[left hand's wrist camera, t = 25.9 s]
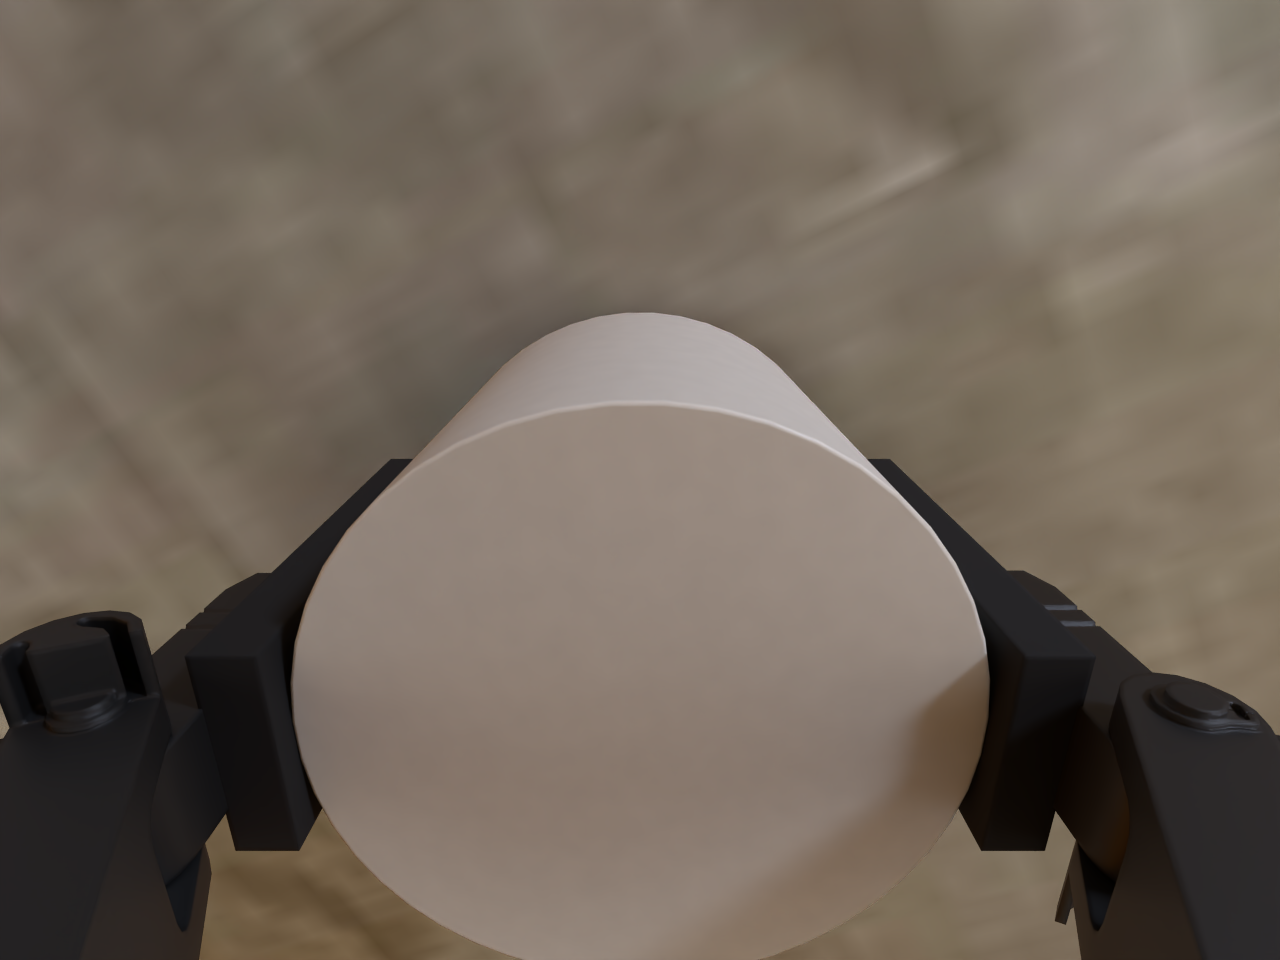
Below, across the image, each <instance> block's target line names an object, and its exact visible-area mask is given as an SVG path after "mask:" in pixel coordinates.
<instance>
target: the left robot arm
mask: <svg viewBox="0 0 1280 960" xmlns="http://www.w3.org/2000/svg"><path fill="white" fill-rule="evenodd" d="M412 460H413V459H390V460H389V461H388V462H387V463H386V464H385V465H384V466H383V467H382V468H381V469H380V470H379V471H378V472H377V473H376V474H375V475H374V476H373V477H372V478H371V479H369V480H368V481H367V482H366V483H365V484H364V485H363V486H362V487H361V488H360V489H359V490H358V491H357V492H356V493H355V494H354V495H353V496H352V497H351V498H350V499H349V500H347V501H346V502H345V503H344V504H343V505H342V506H341V507H340V508H339V509H338V510H337V511H336V512H335V513H334V514H333V515H332V516H331V517H330V518H329V519H328V520H327V521H325V522H324V523H323V524H322V525H321V526H320V527H319V528H318V529H317V530H316V531H315V532H314V533H313V534H312V535H311V536H310V537H309V538H308V539H307V540H306V541H305V542H304V543H302V544H301V545H300V546H299V547H298V548H297V549H296V550H295V551H294V552H293V553H292V554H291V555H290V556H289V557H288V558H287V559H286V560H285V561H284V562H283V563H282V564H280V565H279V566H278V567H277V568H276V569H275V570H274V571H273V572H272V573H257V574H255V575H253V576H251V577H249V578H247V579H245V580H243V581H241V582H239V583H237V584H235V585H233V586H232V587H230V588H228V589H226V590H225V591H224V592H222V593H221V594H220V595H219V596H218V597H217V598H216V599H215V600H213V601H212V602H211V603H210V604H209V605H208V606H207V607H206V608H204V613H199V614H198V615H197V616H195V617H194V618H193V619H192V620H191V621H190V622H189V623H188V624H186V629H181V630H180V631H179V632H177V633H176V634H175V635H174V636H173V637H172V638H171V639H170V640H168V641H167V642H166V643H165V644H164V645H163V646H162V647H161V648H159V649H158V650H157V651H156V652H155V653H154V654H153V655H151V651H150V648H149V644H148V641H147V637H146V634H145V630H144V627H143V623H142V620H141V619H140V618H138V617H137V616H135V615H133V614H132V613H129V612H119V611H100V612H90V613H82V614H78V615H74V616H70V617H66V618H62V619H57V620H53V621H51V622H48V623H46V624H43V625H40V626H38V627H35V628H32V629H30V630H27V631H24V632H23V633H21V634H19V635H17V636H15V637H13V638H12V639H10V640H8V641H6V642H4V643H3V644H1V645H0V704H1V707H2V709H3V712H4V714H5V717H6V720H7V722H8V725H9V730H8V731H7V733H6V735H5V737H4V738H3V739H0V960H199V955H200V948H201V941H202V935H203V928H204V921H205V914H206V908H207V901H208V894H209V887H210V880H211V874H212V873H211V867H210V860H209V856H208V852H207V849H206V845H205V842H206V841H207V840H208V838H209V837H210V835H211V834H212V832H213V831H214V830H215V828H216V827H217V825H218V824H219V822H220V821H221V819H222V818H223V817H224V815H225V814H226V816H227V820H228V823H229V827H230V831H231V835H232V839H233V842H234V846H235V850H236V851H299V850H300V848H301V846H302V845H303V843H304V841H305V839H306V837H307V835H308V834H309V832H310V830H311V828H312V826H313V824H314V822H315V821H316V819H317V817H318V815H319V813H320V811H321V810H322V806H321V804H320V803H319V801H318V799H317V797H316V795H315V794H314V792H313V789H312V786H311V784H310V781H309V779H308V776H307V773H306V771H305V768H304V765H303V763H302V760H301V757H300V753H299V748H298V744H297V739H296V734H295V730H294V725H293V718H292V700H291V674H292V664H293V655H294V645H295V640H296V636H297V633H298V629H299V625H300V622H301V618H302V615H303V611H304V607H305V604H306V602H307V599H308V597H309V595H310V593H311V591H312V589H313V586H314V584H315V582H316V580H317V578H318V576H319V573H320V571H321V569H322V567H323V565H324V564H325V562H326V561H327V559H328V558H329V556H330V555H331V553H332V552H333V550H334V549H335V547H336V546H337V544H338V543H339V541H340V540H341V538H342V537H343V535H344V534H345V532H346V531H347V529H348V528H349V527H350V526H351V525H352V524H353V523H354V522H355V521H356V520H357V519H358V518H359V516H360V515H361V514H362V513H363V512H364V511H365V510H366V509H367V508H368V507H369V506H370V505H371V503H372V502H373V501H374V500H375V499H376V498H377V497H378V496H379V495H380V494H381V493H382V492H383V491H384V490H385V489H386V487H387V486H388V485H389V484H390V483H391V482H392V481H393V480H394V479H395V478H396V477H397V476H398V475H399V474H400V473H401V472H402V471H403V470H404V469H405V468H406V467H407V465H408V464H409V463H410V462H411V461H412ZM867 460H868V461H869V462H870V463H871V464H872V465H873V466H874V467H875V468H876V470H877V471H878V472H879V473H880V474H881V475H882V476H883V477H884V478H885V479H886V480H887V481H888V482H889V483H890V484H891V485H892V486H893V487H894V489H895V490H896V491H897V492H898V493H899V494H900V495H901V496H902V497H903V498H904V499H905V500H906V501H907V502H908V503H909V504H910V505H911V506H912V507H913V509H914V510H915V511H916V512H917V513H918V514H919V515H920V516H921V517H922V518H923V519H924V520H925V521H926V522H927V523H928V524H929V525H930V526H931V528H932V529H933V531H934V532H935V534H936V535H937V536H938V538H939V539H940V541H941V542H942V544H943V545H944V547H945V548H946V549H947V551H948V552H949V554H950V555H951V557H952V558H953V560H954V561H955V562H956V564H957V566H958V569H959V571H960V573H961V575H962V577H963V579H964V581H965V583H966V585H967V587H968V589H969V592H970V594H971V596H972V598H973V600H974V603H975V606H976V610H977V613H978V617H979V620H980V623H981V627H982V630H983V634H984V637H985V642H986V650H987V659H988V667H989V675H990V692H989V716H988V723H987V728H986V733H985V738H984V743H983V747H982V752H981V756H980V759H979V762H978V764H977V767H976V770H975V773H974V775H973V778H972V781H971V784H970V786H969V789H968V791H967V793H966V795H965V797H964V798H963V800H962V802H961V804H960V806H959V808H958V809H959V810H960V812H961V814H962V816H963V818H964V820H965V821H966V823H967V825H968V827H969V829H970V831H971V833H972V834H973V836H974V838H975V840H976V842H977V844H978V845H979V847H980V849H981V851H1045V848H1046V844H1047V841H1048V837H1049V833H1050V829H1051V826H1052V822H1053V818H1054V814H1055V811H1056V812H1057V814H1058V815H1059V816H1060V818H1061V819H1062V821H1063V822H1064V823H1065V825H1066V826H1067V828H1068V829H1069V831H1070V832H1071V833H1072V835H1073V836H1074V838H1075V839H1076V842H1075V845H1074V849H1073V852H1072V856H1071V860H1070V863H1069V867H1068V870H1067V874H1066V877H1065V881H1064V884H1063V888H1062V891H1061V895H1060V898H1059V902H1058V905H1057V911H1056V917H1055V921H1056V922H1059V923H1062V924H1065V925H1066V922H1067V919H1068V916H1069V912H1070V909H1072V908H1073V907H1074V912H1075V919H1076V926H1077V933H1078V939H1079V946H1080V953H1081V960H1280V736H1279V735H1275V733H1274V732H1273V730H1272V728H1271V727H1270V726H1269V725H1268V723H1267V722H1266V721H1265V720H1264V719H1263V718H1262V717H1261V716H1260V715H1259V714H1258V712H1257V711H1255V710H1254V709H1252V708H1251V707H1249V706H1248V705H1246V704H1245V703H1243V702H1242V701H1240V700H1239V699H1237V698H1236V697H1234V696H1232V695H1230V694H1228V693H1226V692H1224V691H1221V690H1219V689H1217V688H1215V687H1212V686H1210V685H1208V684H1206V683H1202V682H1199V681H1195V680H1192V679H1188V678H1185V677H1181V676H1178V675H1170V674H1161V673H1153V672H1151V671H1150V670H1149V669H1148V668H1147V667H1145V666H1144V665H1143V664H1142V663H1141V662H1140V661H1139V660H1138V659H1136V658H1135V657H1134V656H1133V655H1132V654H1131V653H1130V652H1128V651H1127V650H1126V649H1125V648H1124V647H1123V646H1122V645H1121V644H1119V643H1118V642H1117V641H1116V640H1115V639H1114V638H1113V637H1111V636H1110V635H1109V634H1108V633H1107V632H1106V631H1105V630H1104V629H1102V628H1101V627H1100V626H1096V625H1095V622H1094V621H1093V620H1092V619H1091V618H1090V617H1089V616H1088V615H1087V614H1085V613H1084V612H1083V611H1082V610H1077V606H1076V605H1075V604H1074V603H1073V602H1072V601H1071V600H1070V599H1068V598H1067V597H1066V596H1065V595H1064V594H1063V593H1062V592H1060V591H1059V590H1058V589H1057V588H1056V587H1054V586H1052V585H1050V584H1048V583H1047V582H1045V581H1043V580H1041V579H1039V578H1037V577H1035V576H1033V575H1031V574H1029V573H1027V572H1025V571H1006V570H1005V569H1004V568H1003V567H1002V566H1001V565H1000V564H999V563H998V562H997V561H996V560H995V559H994V558H993V557H992V556H991V555H990V554H989V553H988V552H986V551H985V550H984V549H983V548H982V547H981V546H980V545H979V544H978V543H977V542H976V541H975V540H974V539H973V538H972V537H971V536H970V535H969V534H968V533H967V532H966V531H964V530H963V529H962V528H961V527H960V526H959V525H958V524H957V523H956V522H955V521H954V520H953V519H952V518H951V517H950V516H949V515H948V514H947V513H946V512H945V511H944V510H943V509H941V508H940V507H939V506H938V505H937V504H936V503H935V502H934V501H933V500H932V499H931V498H930V497H929V496H928V495H927V494H926V493H925V492H924V491H923V490H922V489H921V488H919V487H918V486H917V485H916V484H915V483H914V482H913V481H912V480H911V479H910V478H909V477H908V476H907V475H906V474H905V473H904V472H903V471H902V470H901V469H900V468H899V467H897V466H896V465H895V464H894V463H893V462H892V461H891V460H890V459H867Z"/></svg>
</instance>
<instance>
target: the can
mask: <svg viewBox="0 0 1280 960" xmlns="http://www.w3.org/2000/svg"><path fill="white" fill-rule="evenodd" d="M989 692H990V675H989V667H988V659H987V650H986V642H985V637H984V634H983V630H982V627H981V623H980V620H979V617H978V613H977V610H976V606H975V603H974V600H973V598H972V596H971V594H970V592H969V589H968V587H967V585H966V583H965V581H964V579H963V577H962V575H961V573H960V571H959V569H958V566H957V564H956V562H955V561H954V560H953V558H952V557H951V555H950V554H949V552H948V551H947V549H946V548H945V547H944V545H943V544H942V542H941V541H940V539H939V538H938V536H937V535H936V534H935V532H934V531H933V529H932V528H931V526H930V525H929V524H928V523H927V522H926V521H925V520H924V519H923V518H922V517H921V516H920V515H919V514H918V513H917V512H916V511H915V510H914V509H913V507H912V506H911V505H910V504H909V503H908V502H907V501H906V500H905V499H904V498H903V497H902V496H901V495H900V494H899V493H898V492H897V491H896V490H895V489H894V487H893V486H892V485H891V484H890V483H889V482H888V481H887V480H886V479H885V478H884V477H883V476H882V475H881V474H880V473H879V472H878V471H877V470H876V468H875V467H874V466H873V465H872V464H871V463H870V462H869V461H868V460H867V459H866V458H865V457H864V456H863V455H862V454H861V453H860V452H859V451H858V450H857V448H856V447H855V446H854V445H853V444H852V443H851V442H850V441H849V440H848V439H847V438H846V437H845V436H844V435H843V434H842V433H841V432H840V431H839V430H838V428H837V427H836V426H835V425H834V424H833V423H832V422H831V421H830V420H829V419H828V418H827V417H826V416H825V415H824V414H823V413H822V412H821V411H820V409H819V408H818V407H817V406H816V405H815V404H814V403H813V402H812V401H811V400H810V399H809V398H808V397H807V396H806V395H805V394H804V393H803V392H802V391H801V389H800V388H799V387H798V386H797V385H796V384H795V383H794V382H793V381H792V380H791V379H790V378H789V377H788V376H787V375H786V374H785V373H784V372H783V371H782V369H781V368H780V367H779V366H778V365H777V364H776V363H774V362H773V361H772V360H771V359H769V358H768V357H767V356H766V355H764V354H763V353H762V352H761V351H759V350H758V349H757V348H756V347H754V346H752V345H750V344H749V343H747V342H745V341H744V340H742V339H740V338H739V337H737V336H735V335H733V334H732V333H729V332H727V331H724V330H722V329H720V328H717V327H715V326H712V325H710V324H708V323H704V322H700V321H697V320H693V319H689V318H685V317H682V316H675V315H667V314H659V313H621V314H613V315H606V316H599V317H595V318H591V319H588V320H584V321H581V322H577V323H574V324H570V325H568V326H566V327H564V328H561V329H559V330H557V331H554V332H552V333H550V334H547V335H545V336H544V337H542V338H540V339H539V340H537V341H536V342H534V343H532V344H531V345H529V346H527V347H526V348H524V349H523V350H521V351H520V352H519V353H518V354H516V355H515V356H514V357H513V358H512V359H510V360H509V361H508V362H507V363H505V364H504V365H503V366H502V367H501V368H500V369H499V370H498V371H497V372H496V373H495V374H494V375H493V376H492V377H491V378H490V380H489V381H488V382H487V383H486V384H485V385H484V386H483V387H482V388H481V389H480V390H479V391H478V392H477V393H476V394H475V395H474V396H473V397H472V398H471V399H470V401H469V402H468V403H467V404H466V405H465V406H464V407H463V408H462V409H461V410H460V411H459V412H458V413H457V414H456V415H455V416H454V417H453V418H452V419H451V420H450V421H449V423H448V424H447V425H446V426H445V427H444V428H443V429H442V430H441V431H440V432H439V433H438V434H437V435H436V436H435V437H434V438H433V439H432V440H431V441H430V442H429V443H428V445H427V446H426V447H425V448H424V449H423V450H422V451H421V452H420V453H419V454H418V455H417V456H416V457H415V458H414V459H413V460H412V461H411V462H410V463H409V464H408V465H407V467H406V468H405V469H404V470H403V471H402V472H401V473H400V474H399V475H398V476H397V477H396V478H395V479H394V480H393V481H392V482H391V483H390V484H389V485H388V486H387V487H386V489H385V490H384V491H383V492H382V493H381V494H380V495H379V496H378V497H377V498H376V499H375V500H374V501H373V502H372V503H371V505H370V506H369V507H368V508H367V509H366V510H365V511H364V512H363V513H362V514H361V515H360V516H359V518H358V519H357V520H356V521H355V522H354V523H353V524H352V525H351V526H350V527H349V528H348V529H347V531H346V532H345V534H344V535H343V537H342V538H341V540H340V541H339V543H338V544H337V546H336V547H335V549H334V550H333V552H332V553H331V555H330V556H329V558H328V559H327V561H326V562H325V564H324V565H323V567H322V569H321V571H320V573H319V576H318V578H317V580H316V582H315V584H314V586H313V589H312V591H311V593H310V595H309V597H308V599H307V602H306V604H305V607H304V611H303V615H302V618H301V622H300V625H299V629H298V633H297V636H296V640H295V645H294V655H293V664H292V674H291V700H292V718H293V725H294V730H295V734H296V739H297V744H298V748H299V753H300V757H301V760H302V763H303V765H304V768H305V771H306V773H307V776H308V779H309V781H310V784H311V786H312V789H313V792H314V794H315V795H316V797H317V799H318V801H319V803H320V804H321V806H322V808H323V810H324V812H325V813H326V815H327V817H328V819H329V821H330V822H331V824H332V826H333V827H334V828H335V830H336V831H337V832H338V834H339V835H340V836H341V838H342V839H343V840H344V842H345V843H346V844H347V846H348V847H349V848H350V850H351V851H352V852H353V854H354V855H355V856H356V857H357V858H358V859H359V860H360V861H361V862H362V863H363V864H364V865H365V866H366V867H367V868H368V869H369V871H370V872H371V873H372V874H373V875H374V876H375V877H376V878H377V879H378V880H379V881H380V882H381V883H383V884H384V885H385V886H386V887H388V888H389V889H390V890H391V891H392V892H394V893H395V894H396V895H397V896H399V897H400V898H401V899H402V900H403V901H405V902H406V903H407V904H408V905H410V906H411V907H413V908H414V909H416V910H418V911H419V912H421V913H422V914H424V915H425V916H427V917H428V918H430V919H431V920H433V921H435V922H436V923H438V924H439V925H441V926H443V927H445V928H447V929H449V930H451V931H453V932H455V933H457V934H459V935H461V936H463V937H465V938H467V939H468V940H470V941H472V942H474V943H477V944H480V945H482V946H485V947H487V948H490V949H493V950H495V951H498V952H500V953H503V954H506V955H508V956H511V957H515V958H518V959H522V960H759V959H763V958H766V957H770V956H773V955H776V954H778V953H781V952H783V951H786V950H788V949H791V948H794V947H796V946H799V945H801V944H804V943H806V942H809V941H811V940H813V939H815V938H817V937H819V936H821V935H822V934H824V933H826V932H828V931H830V930H832V929H834V928H836V927H838V926H840V925H842V924H844V923H845V922H847V921H848V920H850V919H851V918H853V917H854V916H856V915H857V914H859V913H860V912H862V911H863V910H865V909H866V908H868V907H869V906H871V905H872V904H874V903H875V902H876V901H878V900H879V899H880V898H881V897H882V896H884V895H885V894H886V893H887V892H888V891H890V890H891V889H892V888H893V887H894V886H896V885H897V884H898V883H899V882H900V881H902V880H903V879H904V878H905V877H906V876H907V875H908V874H909V873H910V872H911V870H912V869H913V868H914V867H915V866H916V865H917V864H918V863H919V862H920V861H921V860H922V859H923V858H924V857H925V856H926V855H927V854H928V853H929V851H930V850H931V849H932V847H933V846H934V844H935V843H936V842H937V840H938V839H939V838H940V836H941V835H942V833H943V832H944V831H945V829H946V828H947V827H948V825H949V824H950V822H951V821H952V819H953V817H954V815H955V813H956V811H957V810H958V808H959V806H960V804H961V802H962V800H963V798H964V797H965V795H966V793H967V791H968V789H969V786H970V784H971V781H972V778H973V775H974V773H975V770H976V767H977V764H978V762H979V759H980V756H981V752H982V747H983V743H984V738H985V733H986V728H987V723H988V716H989Z"/></svg>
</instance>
